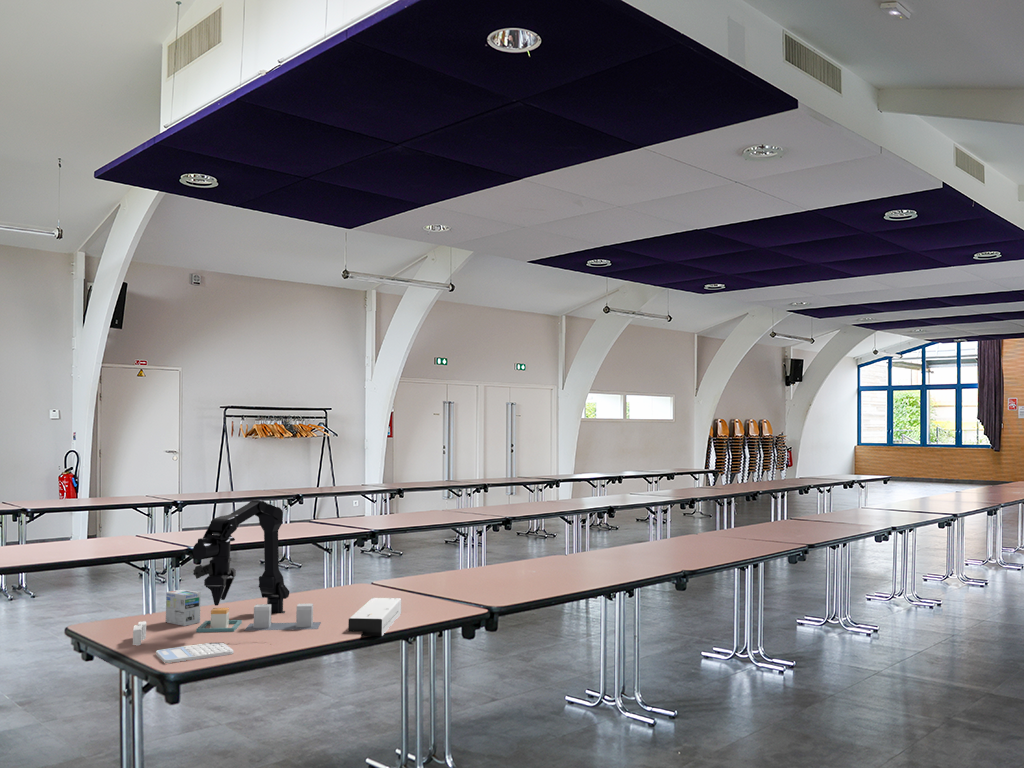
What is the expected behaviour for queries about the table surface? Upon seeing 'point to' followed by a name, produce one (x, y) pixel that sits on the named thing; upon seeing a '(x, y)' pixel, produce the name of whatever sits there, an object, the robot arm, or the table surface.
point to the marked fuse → (219, 617)
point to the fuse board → (282, 626)
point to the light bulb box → (183, 607)
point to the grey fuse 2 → (304, 615)
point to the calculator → (194, 652)
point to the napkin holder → (139, 633)
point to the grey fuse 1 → (262, 616)
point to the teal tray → (203, 629)
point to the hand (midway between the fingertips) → (219, 602)
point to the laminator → (375, 616)
